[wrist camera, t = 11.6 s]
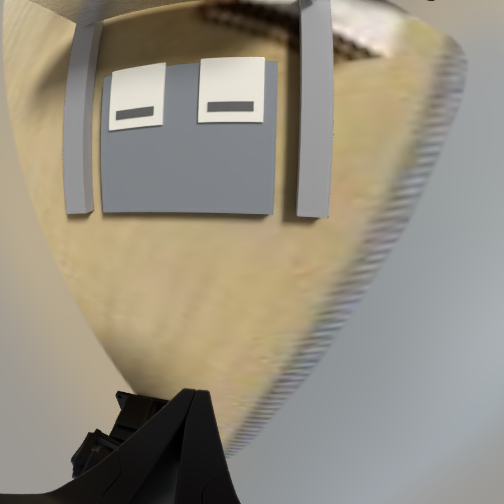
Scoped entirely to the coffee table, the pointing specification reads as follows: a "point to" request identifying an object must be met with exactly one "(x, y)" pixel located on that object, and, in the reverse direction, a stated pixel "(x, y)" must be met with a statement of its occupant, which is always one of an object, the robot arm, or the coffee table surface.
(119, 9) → the light grey upright panel
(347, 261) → the coffee table surface
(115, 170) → the grey railed panel
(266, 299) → the coffee table surface
